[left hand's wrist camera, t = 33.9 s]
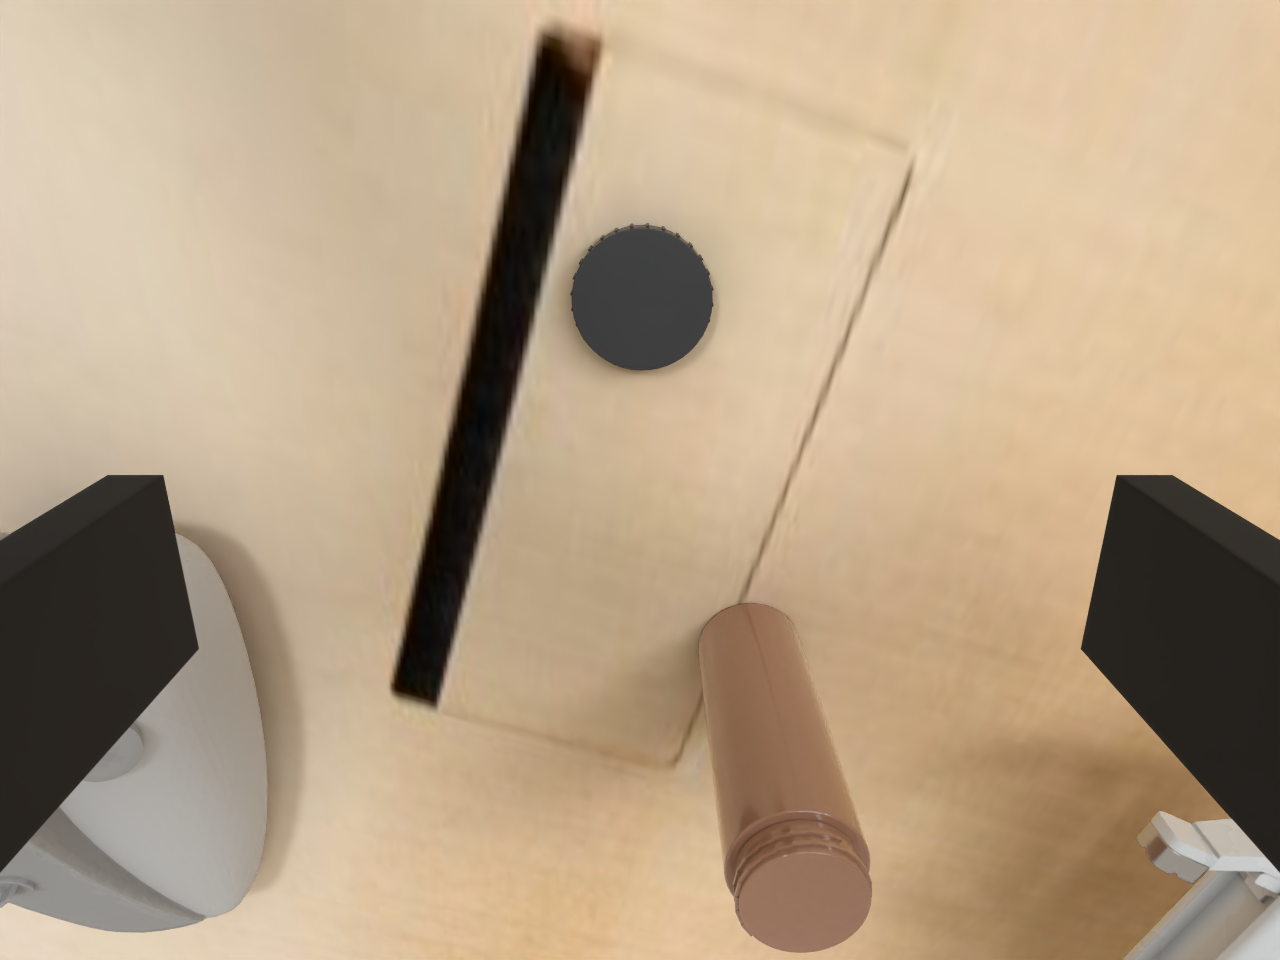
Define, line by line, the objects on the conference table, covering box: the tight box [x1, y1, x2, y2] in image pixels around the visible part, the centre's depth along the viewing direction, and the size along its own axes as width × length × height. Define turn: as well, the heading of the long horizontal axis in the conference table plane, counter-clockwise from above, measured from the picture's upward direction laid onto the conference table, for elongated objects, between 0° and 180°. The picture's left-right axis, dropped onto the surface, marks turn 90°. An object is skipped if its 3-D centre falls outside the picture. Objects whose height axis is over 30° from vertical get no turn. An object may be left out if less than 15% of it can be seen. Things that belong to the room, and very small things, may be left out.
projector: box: [0, 533, 268, 932], centre depth 37 cm, size 22×23×15 cm
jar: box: [698, 603, 872, 953], centre depth 36 cm, size 5×5×16 cm
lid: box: [571, 223, 713, 370], centre depth 36 cm, size 6×6×2 cm
